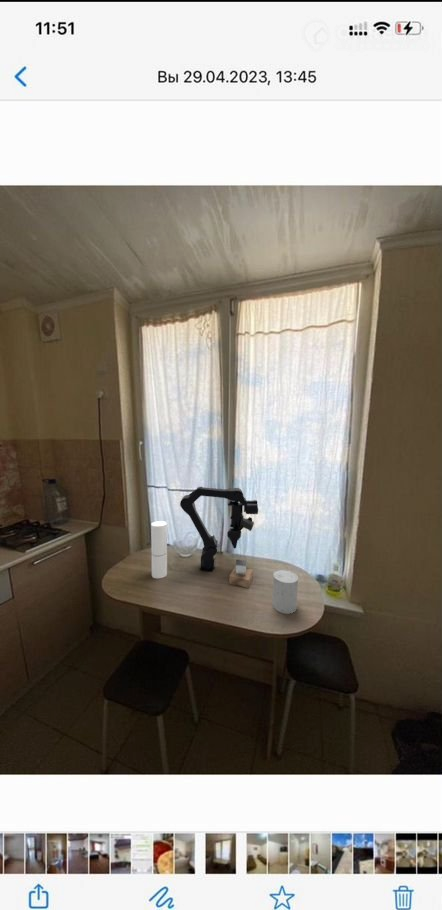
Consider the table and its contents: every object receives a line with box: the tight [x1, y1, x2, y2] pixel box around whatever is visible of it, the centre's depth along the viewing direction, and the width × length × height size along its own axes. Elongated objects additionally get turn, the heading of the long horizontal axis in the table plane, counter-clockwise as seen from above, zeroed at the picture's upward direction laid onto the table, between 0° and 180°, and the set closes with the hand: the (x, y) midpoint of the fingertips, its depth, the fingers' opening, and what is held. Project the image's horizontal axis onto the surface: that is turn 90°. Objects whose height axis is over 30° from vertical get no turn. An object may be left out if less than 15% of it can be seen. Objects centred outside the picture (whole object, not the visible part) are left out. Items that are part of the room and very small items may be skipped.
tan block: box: [228, 565, 254, 589], centre depth 115 cm, size 9×9×4 cm
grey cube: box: [235, 559, 247, 576], centre depth 115 cm, size 5×5×5 cm
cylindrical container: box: [150, 520, 168, 579], centre depth 118 cm, size 7×7×25 cm
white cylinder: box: [271, 568, 299, 615], centre depth 99 cm, size 10×10×12 cm
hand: (236, 544), depth 125 cm, fingers open, 9 cm apart
